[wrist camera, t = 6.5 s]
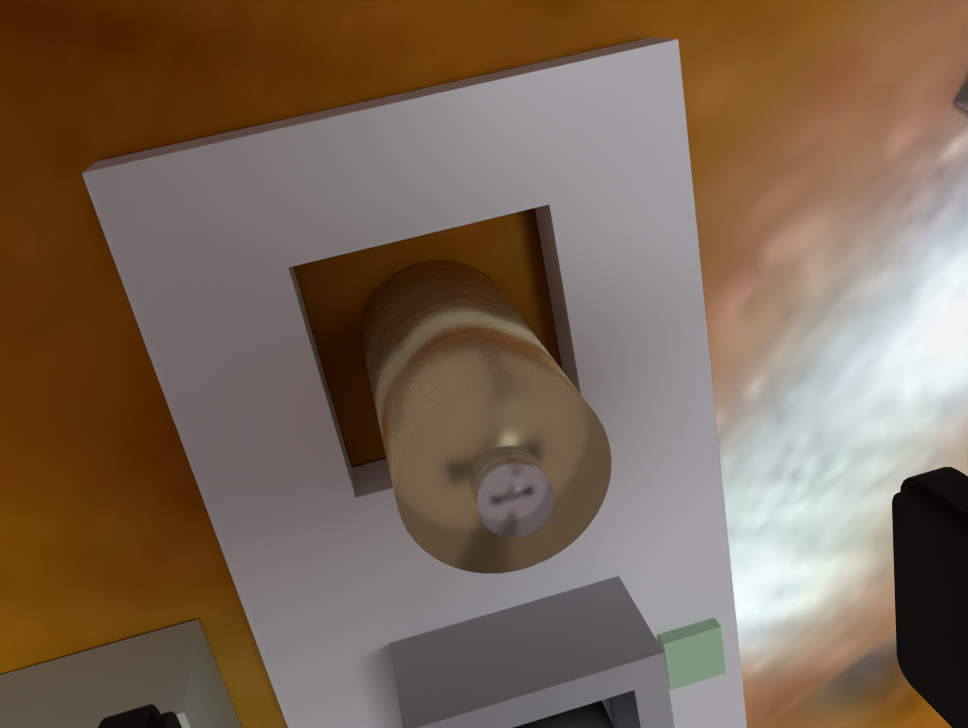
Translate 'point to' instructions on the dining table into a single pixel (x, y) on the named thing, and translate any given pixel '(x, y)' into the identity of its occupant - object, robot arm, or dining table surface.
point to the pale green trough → (122, 684)
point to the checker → (368, 488)
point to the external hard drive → (963, 97)
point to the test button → (575, 718)
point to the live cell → (479, 423)
